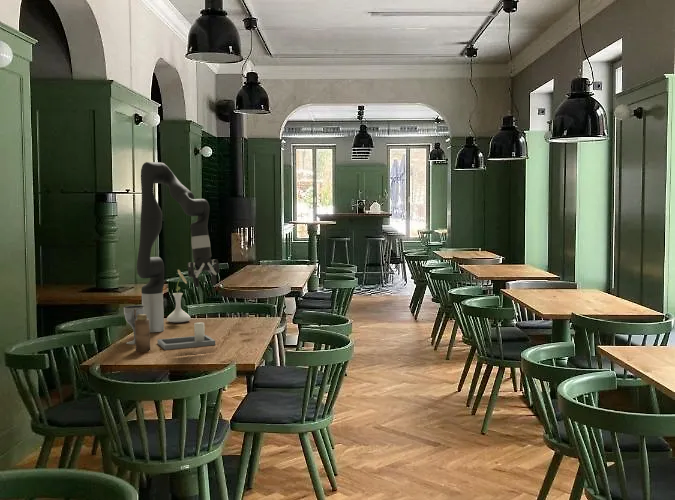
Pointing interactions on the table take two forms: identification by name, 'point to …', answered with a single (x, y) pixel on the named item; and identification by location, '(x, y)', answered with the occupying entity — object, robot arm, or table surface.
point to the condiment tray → (184, 342)
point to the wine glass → (133, 316)
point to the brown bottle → (142, 333)
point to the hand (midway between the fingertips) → (205, 285)
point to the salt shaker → (199, 331)
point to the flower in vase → (178, 306)
